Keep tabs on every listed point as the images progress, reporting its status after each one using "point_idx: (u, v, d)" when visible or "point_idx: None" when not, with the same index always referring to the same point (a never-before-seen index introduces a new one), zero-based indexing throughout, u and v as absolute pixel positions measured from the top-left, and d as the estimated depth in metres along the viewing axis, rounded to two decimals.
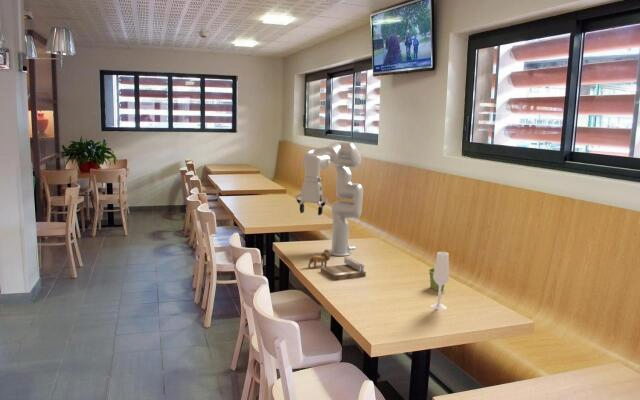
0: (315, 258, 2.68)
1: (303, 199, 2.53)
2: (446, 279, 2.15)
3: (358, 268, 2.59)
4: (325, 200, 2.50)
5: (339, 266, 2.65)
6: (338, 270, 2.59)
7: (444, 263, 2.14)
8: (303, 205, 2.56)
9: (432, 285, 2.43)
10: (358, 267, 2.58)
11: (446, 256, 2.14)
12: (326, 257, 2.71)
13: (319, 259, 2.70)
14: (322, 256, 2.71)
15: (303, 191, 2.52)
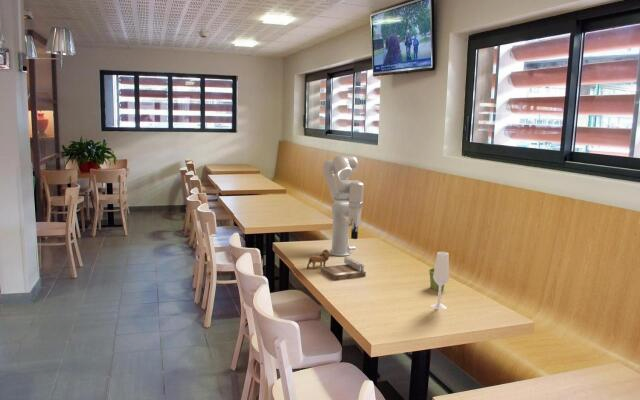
0: (314, 258, 2.68)
1: (357, 224, 2.70)
2: (446, 279, 2.15)
3: (358, 268, 2.59)
4: None
5: (339, 266, 2.65)
6: (338, 270, 2.59)
7: (444, 263, 2.14)
8: None
9: (432, 285, 2.43)
10: (358, 267, 2.58)
11: (446, 256, 2.14)
12: (325, 257, 2.71)
13: (318, 259, 2.69)
14: (321, 256, 2.70)
15: (357, 217, 2.69)
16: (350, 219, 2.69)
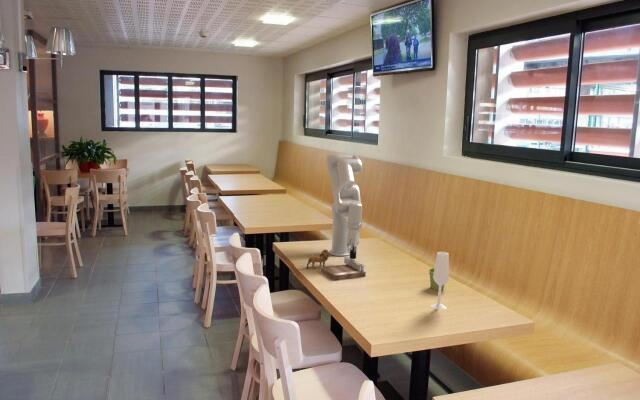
0: (313, 258, 2.68)
1: (355, 245, 2.72)
2: (446, 279, 2.15)
3: (358, 268, 2.59)
4: None
5: (339, 266, 2.65)
6: (338, 270, 2.59)
7: (444, 263, 2.14)
8: None
9: (432, 285, 2.43)
10: (358, 267, 2.58)
11: (446, 256, 2.14)
12: (324, 257, 2.71)
13: (317, 259, 2.69)
14: (320, 256, 2.70)
15: (356, 238, 2.71)
16: (349, 240, 2.71)
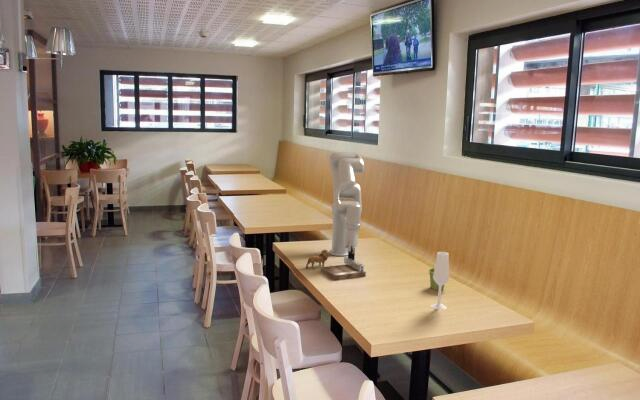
0: (313, 258, 2.68)
1: (354, 246, 2.68)
2: (446, 279, 2.15)
3: (358, 268, 2.59)
4: None
5: (339, 266, 2.65)
6: (338, 270, 2.59)
7: (444, 263, 2.14)
8: None
9: (432, 285, 2.43)
10: (358, 267, 2.58)
11: (446, 256, 2.14)
12: (324, 257, 2.71)
13: (317, 259, 2.69)
14: (320, 256, 2.70)
15: (354, 239, 2.67)
16: (347, 241, 2.67)
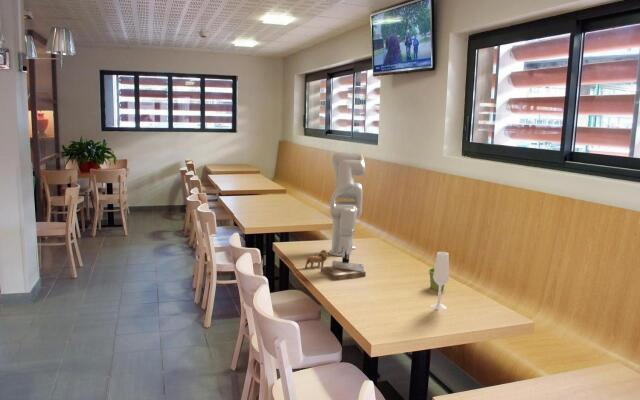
0: (312, 258, 2.67)
1: (348, 252, 2.59)
2: (446, 279, 2.15)
3: (359, 269, 2.58)
4: None
5: None
6: (338, 270, 2.59)
7: (444, 263, 2.14)
8: None
9: (432, 285, 2.43)
10: (359, 268, 2.58)
11: (446, 256, 2.14)
12: (323, 257, 2.70)
13: (316, 259, 2.69)
14: (319, 256, 2.70)
15: (348, 245, 2.59)
16: (341, 247, 2.58)
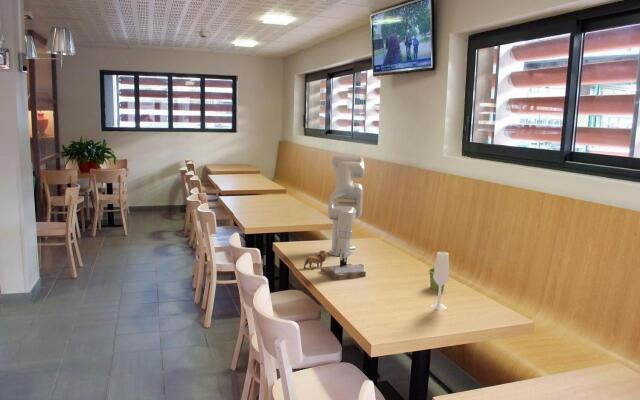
0: (310, 259, 2.66)
1: (346, 255, 2.53)
2: (446, 279, 2.15)
3: (361, 269, 2.57)
4: None
5: None
6: None
7: (444, 263, 2.14)
8: None
9: (432, 285, 2.43)
10: (361, 268, 2.57)
11: (446, 256, 2.14)
12: (322, 258, 2.69)
13: (315, 260, 2.68)
14: (318, 257, 2.69)
15: (346, 247, 2.52)
16: (338, 249, 2.52)
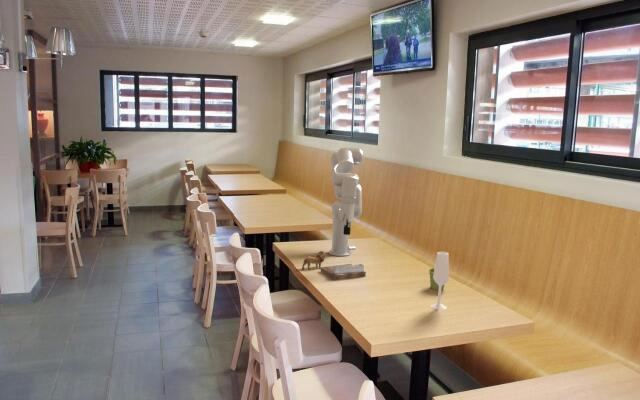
0: (309, 259, 2.65)
1: (349, 220, 2.58)
2: (446, 279, 2.15)
3: (361, 269, 2.57)
4: None
5: None
6: None
7: (444, 263, 2.14)
8: None
9: (432, 285, 2.43)
10: (361, 268, 2.57)
11: (446, 256, 2.14)
12: (320, 259, 2.68)
13: (313, 260, 2.67)
14: (316, 257, 2.68)
15: (350, 212, 2.57)
16: (342, 214, 2.57)
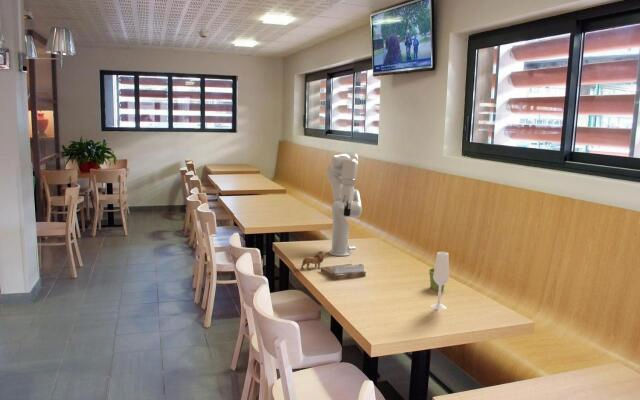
0: (308, 259, 2.65)
1: (349, 201, 2.70)
2: (446, 279, 2.15)
3: (361, 269, 2.57)
4: None
5: None
6: None
7: (444, 263, 2.14)
8: None
9: (432, 285, 2.43)
10: (361, 268, 2.57)
11: (446, 256, 2.14)
12: (319, 259, 2.68)
13: (312, 261, 2.66)
14: (315, 258, 2.67)
15: (350, 194, 2.69)
16: (343, 196, 2.69)
